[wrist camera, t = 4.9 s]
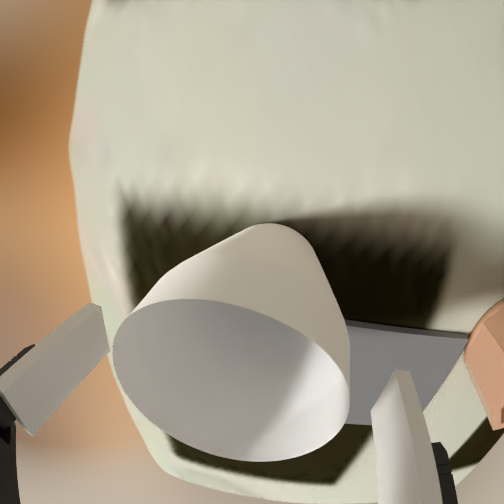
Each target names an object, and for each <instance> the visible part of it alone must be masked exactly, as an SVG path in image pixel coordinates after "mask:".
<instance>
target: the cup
mask: <svg viewBox="0 0 504 504" xmlns="http://www.w3.org/2000/svg"><path fill="white" fill-rule="evenodd" d="M113 362H114V367H115V371H116V374H117V376H118V379H119V381H120V383H121V385H122V387H123V389H124V391H125V392H126V394H127V395H128V397H129V398H130V399H131V401H132V402H133V403H134V405H135V406H136V407H137V408H138V409H139V410H140V411H141V412H142V413H143V414H144V415H145V416H146V417H147V418H148V419H149V420H150V421H151V422H152V423H154V424H155V425H156V426H158V427H159V428H160V429H162V430H163V431H164V432H166V433H167V434H169V435H171V436H172V437H174V438H176V439H177V440H179V441H181V442H183V443H185V444H187V445H189V446H191V447H194V448H196V449H199V450H201V451H204V452H207V453H210V454H213V455H217V456H221V457H225V458H230V459H235V460H243V461H260V462H262V461H278V460H285V459H290V458H294V457H298V456H301V455H304V454H307V453H309V452H312V451H314V450H316V449H318V448H319V447H321V446H323V445H324V444H326V443H327V442H328V441H330V440H331V439H332V438H333V437H334V436H335V435H336V434H337V433H338V432H339V431H340V429H341V428H342V427H343V425H344V423H345V421H346V419H347V416H348V413H349V409H350V341H349V335H348V331H347V327H346V324H345V321H344V318H343V315H342V313H341V311H340V308H339V306H338V303H337V301H336V299H335V296H334V294H333V292H332V289H331V287H330V285H329V282H328V280H327V278H326V276H325V273H324V271H323V269H322V267H321V265H320V262H319V260H318V258H317V256H316V254H315V252H314V249H313V248H312V246H311V245H310V243H309V242H308V241H307V240H306V239H305V238H304V237H303V236H302V235H301V234H300V233H298V232H297V231H295V230H293V229H291V228H289V227H287V226H284V225H280V224H274V223H263V224H258V225H254V226H251V227H249V228H247V229H245V230H243V231H241V232H239V233H237V234H235V235H233V236H231V237H229V238H227V239H225V240H223V241H221V242H220V243H218V244H216V245H214V246H212V247H210V248H208V249H206V250H204V251H202V252H201V253H199V254H197V255H195V256H193V257H191V258H189V259H188V260H186V261H184V262H182V263H180V264H179V265H177V266H176V267H174V268H173V269H172V270H170V271H169V272H167V273H166V274H165V275H164V276H163V277H162V278H161V279H160V280H159V281H158V282H157V283H156V285H155V286H154V287H153V288H152V289H151V290H150V292H149V293H148V294H147V295H146V297H145V298H144V299H143V300H142V301H141V302H140V303H139V305H138V306H137V307H136V308H135V309H134V310H133V311H132V313H131V314H130V315H129V316H128V317H127V318H126V319H125V321H124V322H123V323H122V324H121V326H120V327H119V329H118V331H117V333H116V336H115V338H114V343H113Z"/></svg>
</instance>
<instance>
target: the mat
mask: <svg viewBox="0 0 504 504" xmlns="http://www.w3.org/2000/svg"><path fill="white" fill-rule="evenodd" d="M344 321H345V324H346V327H347V331H348V335H349V341H350V409H349V413H348V416H347V419H346V421H345V423H346V424H362V425H372V419H371V409H372V408H373V406H374V405H375V403H376V401H377V400H378V398H379V396H380V395H381V393H382V391H383V390H384V388H385V386H386V384H387V383H388V381H389V379H390V377H391V375H392V374H393V372H394V370H404V371H410V373H411V376H412V379H413V382H414V385H415V388H416V391H417V394H418V398H419V401H420V404H421V408H422V411H423V410H424V408H425V407H426V406H427V404H428V403H429V402H430V400H431V399H432V398H433V396H434V395H435V393H436V392H437V391H438V389H439V388H440V386H441V385H442V383H443V382H444V380H445V379H446V377H447V376H448V374H449V372H450V371H451V369H452V368H453V366H454V364H455V363H456V361H457V359H458V358H459V356H460V354H461V353H462V351H463V349H464V347H465V345H466V344H467V342H468V340H469V339H468V337H467V335H466V334H461V333H449V332H439V331H429V330H420V329H412V328H403V327H395V326H388V325H380V324H373V323H366V322H359V321H352V320H346V319H344Z"/></svg>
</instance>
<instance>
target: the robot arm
mask: <svg viewBox="0 0 504 504" xmlns="http://www.w3.org/2000/svg"><path fill="white" fill-rule="evenodd" d="M109 352H110V348H109V344H108V340H107V335H106V330H105V325H104V320H103V315H102V309H101V306H98V305H95V304H93V303H90V302H89V303H88V304H87V305H85V306H84V307H83V308H81V309H80V310H79V311H78V312H76V313H75V314H74V315H73V316H71V317H70V318H69V319H68V320H66V321H65V322H64V323H63V324H61V325H60V326H59V327H57V328H56V329H55V330H54V331H53V332H51V333H50V334H49V335H48V336H46V337H45V338H44V339H43V340H42V341H40V342H39V343H38V344H37V345H35V344H33V345H31V346H29V347H26V348H24V349H23V350H22V351H21V352H20V353H18V354H17V356H15V357H14V358H13V359H11V361H9V362H8V363H7V364H6V365H4V366H3V367H2V368H1V369H0V504H20V498H19V490H18V480H17V468H16V425H15V423H14V421H15V420H16V419H17V421H18V422H19V424H20V425H21V426H22V427H23V428H24V429H25V430H26V431H27V432H28V433H29V434H31V435H32V436H34V435H35V434H36V433H37V432H38V431H39V430H40V428H41V427H42V426H43V425H44V424H45V423H46V421H47V420H48V419H49V418H50V417H51V416H52V415H53V413H54V412H55V411H56V410H57V409H58V408H59V407H60V405H61V404H62V403H63V402H64V401H65V400H66V399H67V397H68V396H69V395H70V394H71V393H72V392H73V391H74V390H75V388H76V387H77V386H78V385H79V384H80V383H81V382H82V381H83V380H84V379H85V377H86V376H87V375H88V374H89V373H90V372H91V371H92V370H93V369H94V368H95V367H96V366H97V364H98V363H99V362H100V361H101V360H102V359H103V358H104V357H105V356H106V355H107V354H108V353H109ZM371 419H372V427H373V436H374V446H375V457H376V470H377V487H378V504H458V501H457V495H456V490H455V485H454V480H453V475H452V474H451V472H452V471H451V466H450V465H449V463H450V462H449V458H448V454H447V451H446V450H445V448H444V447H443V445H442V444H441V442H436V443H431V441H430V437H429V433H428V429H427V425H426V422H425V418H424V415H423V411H422V408H421V404H420V401H419V398H418V394H417V391H416V388H415V385H414V382H413V379H412V376H411V373H410V371H404V370H394V372H393V374H392V375H391V377H390V379H389V381H388V383H387V384H386V386H385V388H384V390H383V391H382V393H381V395H380V396H379V398H378V400H377V401H376V403H375V405H374V406H373V408H372V409H371Z"/></svg>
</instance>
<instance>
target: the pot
mask: <svg viewBox="0 0 504 504" xmlns="http://www.w3.org/2000/svg"><path fill="white" fill-rule="evenodd" d="M468 339H469V340H468V342H467V344H466V345H465V349H464V362H465V364H466V366H467V368H468V371H469V375H470V378H471V380H472V382H473V385H474V387H475V389H476V391H477V393H478V395H479V398H480V400H481V402H482V404H483V407H484V409H485V411H486V414H487V416H488V419H489V421H490V424H491V426H492V429H493V430H497V429H501V428H504V299H502V300H500V301H499V302H497V303H496V304H495V305H493V306H492V307H491V308H490V309H489V310H488V311H487V312H486V313H485V314H484V315H483V316H482V317H481V318H480V320H479V321H478V322H477V324H476V325H475V327H474V328H473V330H472V332H471V334H470V335H469V338H468Z"/></svg>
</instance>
